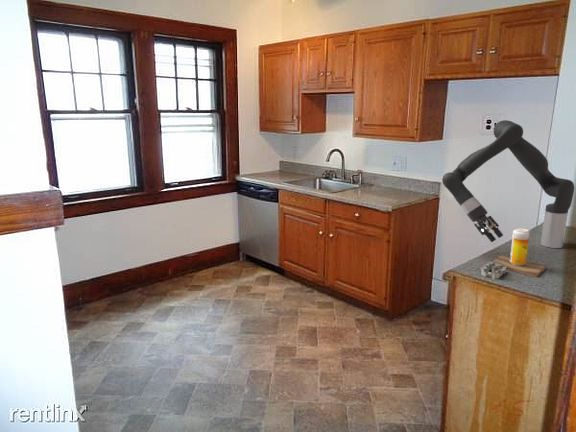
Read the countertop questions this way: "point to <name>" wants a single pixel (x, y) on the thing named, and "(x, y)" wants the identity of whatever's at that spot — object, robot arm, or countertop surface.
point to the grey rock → (493, 270)
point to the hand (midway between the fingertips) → (497, 238)
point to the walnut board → (526, 269)
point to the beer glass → (519, 246)
